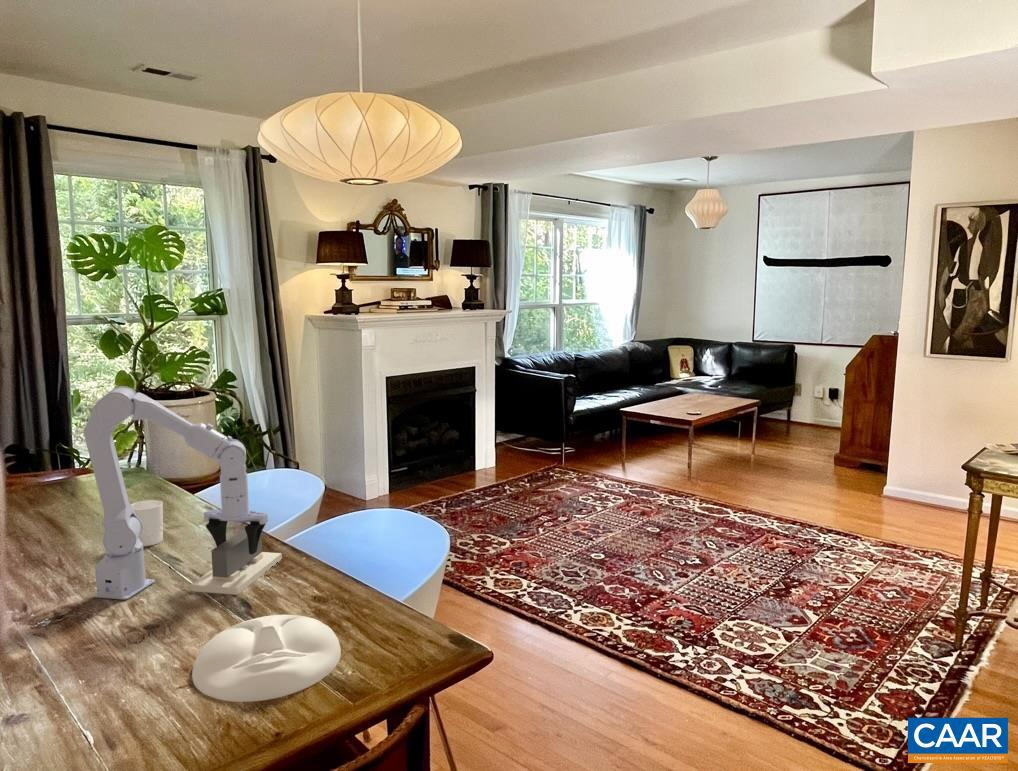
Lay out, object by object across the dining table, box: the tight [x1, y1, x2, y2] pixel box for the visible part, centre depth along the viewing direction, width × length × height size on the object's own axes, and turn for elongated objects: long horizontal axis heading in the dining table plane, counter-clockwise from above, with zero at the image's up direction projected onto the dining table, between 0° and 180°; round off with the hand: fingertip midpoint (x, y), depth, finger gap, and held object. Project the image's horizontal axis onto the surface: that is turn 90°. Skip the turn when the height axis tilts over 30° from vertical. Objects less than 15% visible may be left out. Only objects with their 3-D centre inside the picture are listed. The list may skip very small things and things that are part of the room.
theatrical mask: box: [191, 614, 342, 703], centre depth 124 cm, size 25×8×25 cm
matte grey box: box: [210, 528, 263, 578], centre depth 161 cm, size 15×4×6 cm, turn 171°
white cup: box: [130, 499, 164, 547], centre depth 181 cm, size 8×8×10 cm
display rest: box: [190, 551, 283, 596], centre depth 161 cm, size 20×11×2 cm, turn 171°
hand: (237, 551), depth 161 cm, fingers open, 7 cm apart
